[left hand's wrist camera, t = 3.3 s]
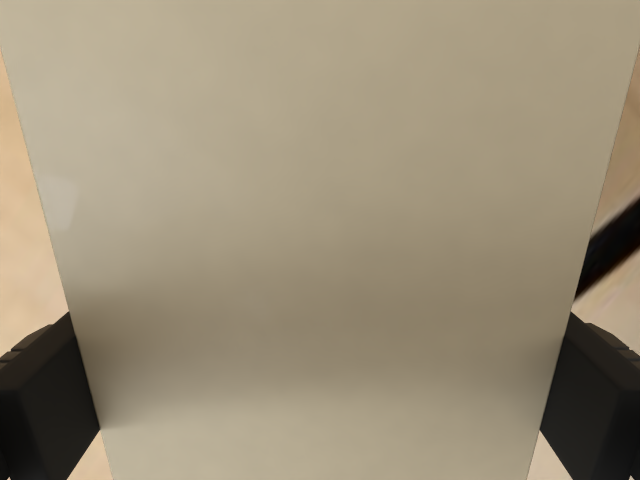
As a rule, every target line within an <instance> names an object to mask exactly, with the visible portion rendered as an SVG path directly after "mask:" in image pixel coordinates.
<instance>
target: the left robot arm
mask: <svg viewBox="0 0 640 480" xmlns="http://www.w3.org/2000/svg"><path fill="white" fill-rule="evenodd" d="M99 430H100V427H99V423H98V420H97V416H96V412H95V408H94V404H93V400H92V397H91V393H90V389H89V385H88V381H87V377H86V374H85V370H84V366H83V362H82V358H81V354H80V351H79V347H78V343H77V339H76V335H75V331H74V328H73V324H72V320H71V316H70V312H67V313H66V314H65V315H64V316H63V317H62V318H60V319H59V320H58V321H57V322H56V323H54V324H53V325H47V326H45V327H43V328H41V329H39V330H37V331H36V332H34V333H32V334H30V335H28V336H26V337H25V338H24V339H23V340H21V341H20V342H19V343H18V344H17V345H15V346H14V347H13V348H12V349H11V351H10V352H7V353H5V354H4V355H3V356H2V357H0V480H7V479H8V478H9V477H10V479H11V480H67V478H68V477H69V475H70V474H71V472H72V471H73V469H74V468H75V466H76V465H77V463H78V462H79V460H80V459H81V457H82V456H83V454H84V453H85V451H86V450H87V448H88V447H89V445H90V444H91V442H92V441H93V439H94V438H95V436H96V435H97V433H98V432H99ZM540 431H541V432H542V434H543V435H544V437H545V438H546V440H547V441H548V443H549V444H550V446H551V447H552V449H553V450H554V452H555V453H556V455H557V456H558V458H559V459H560V461H561V462H562V464H563V466H564V467H565V469H566V470H567V472H568V473H569V475H570V476H571V478H572V479H573V480H629V478H630V475H631V476H632V477H633V479H634V480H640V356H639V355H638V354H636V353H635V352H634V351H633V350H629V347H628V346H626V345H625V344H624V343H623V342H622V341H620V340H619V339H618V338H617V337H615V336H614V335H613V334H611V333H609V332H607V331H605V330H603V329H601V328H599V327H597V326H596V325H594V324H592V323H584V322H583V321H582V320H580V319H579V318H578V317H577V316H576V315H574V314H573V313H572V312H571V311H570V315H569V319H568V323H567V327H566V331H565V334H564V338H563V342H562V346H561V350H560V354H559V357H558V361H557V365H556V369H555V373H554V377H553V380H552V384H551V388H550V392H549V396H548V399H547V403H546V407H545V411H544V415H543V419H542V422H541V426H540Z"/></svg>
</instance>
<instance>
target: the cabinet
mask: <svg viewBox="0 0 640 480" xmlns="http://www.w3.org/2000/svg"><path fill="white" fill-rule="evenodd" d="M639 47H640V0H0V48H1V52H2V56H3V60H4V64H5V67H6V71H7V75H8V79H9V83H10V87H11V90H12V94H13V98H14V102H15V106H16V109H17V113H18V117H19V121H20V125H21V129H22V132H23V136H24V140H25V144H26V148H27V152H28V155H29V159H30V163H31V167H32V171H33V175H34V178H35V182H36V186H37V190H38V194H39V198H40V201H41V205H42V209H43V213H44V217H45V220H46V224H47V228H48V232H49V236H50V240H51V243H52V247H53V251H54V255H55V259H56V263H57V266H58V270H59V274H60V278H61V282H62V286H63V289H64V293H65V297H66V301H67V305H68V309H69V312H70V316H71V320H72V324H73V328H74V331H75V335H76V339H77V343H78V347H79V351H80V354H81V358H82V362H83V366H84V370H85V374H86V377H87V381H88V385H89V389H90V393H91V397H92V400H93V404H94V408H95V412H96V416H97V420H98V423H99V427H100V431H101V435H102V439H103V442H104V446H105V450H106V454H107V458H108V462H109V465H110V469H111V473H112V477H113V480H527V476H528V472H529V468H530V465H531V461H532V457H533V453H534V449H535V445H536V442H537V438H538V434H539V430H540V426H541V422H542V419H543V415H544V411H545V407H546V403H547V399H548V396H549V392H550V388H551V384H552V380H553V377H554V373H555V369H556V365H557V361H558V357H559V354H560V350H561V346H562V342H563V338H564V334H565V331H566V327H567V323H568V319H569V315H570V311H571V308H572V304H573V300H574V296H575V292H576V288H577V285H578V281H579V277H580V273H581V269H582V265H583V262H584V258H585V254H586V250H587V246H588V243H589V239H590V235H591V231H592V227H593V223H594V220H595V216H596V212H597V208H598V204H599V200H600V197H601V193H602V189H603V185H604V181H605V177H606V174H607V170H608V166H609V162H610V158H611V154H612V151H613V147H614V143H615V139H616V135H617V132H618V128H619V124H620V120H621V116H622V112H623V109H624V105H625V101H626V97H627V93H628V89H629V86H630V82H631V78H632V74H633V70H634V66H635V63H636V59H637V55H638V51H639Z"/></svg>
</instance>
